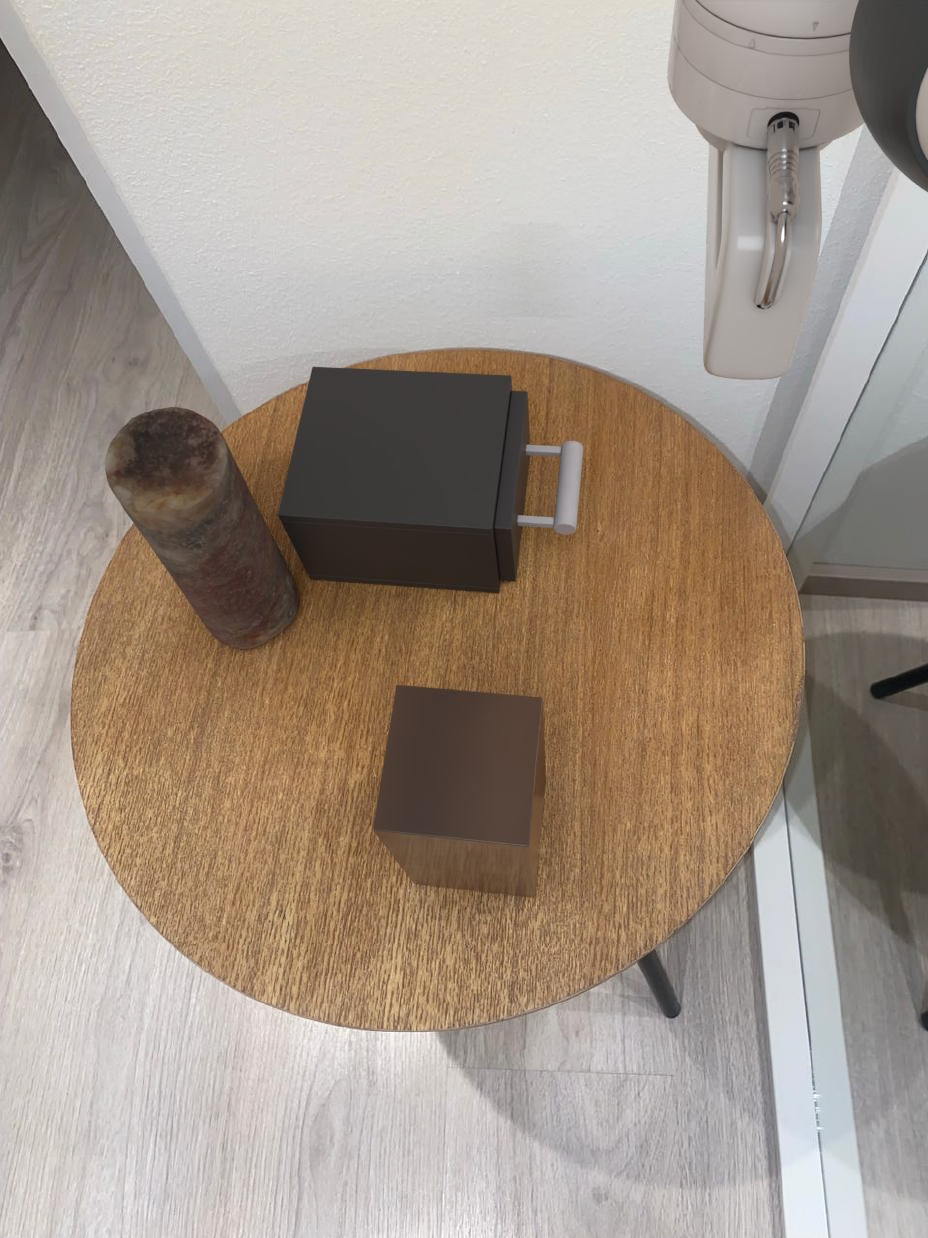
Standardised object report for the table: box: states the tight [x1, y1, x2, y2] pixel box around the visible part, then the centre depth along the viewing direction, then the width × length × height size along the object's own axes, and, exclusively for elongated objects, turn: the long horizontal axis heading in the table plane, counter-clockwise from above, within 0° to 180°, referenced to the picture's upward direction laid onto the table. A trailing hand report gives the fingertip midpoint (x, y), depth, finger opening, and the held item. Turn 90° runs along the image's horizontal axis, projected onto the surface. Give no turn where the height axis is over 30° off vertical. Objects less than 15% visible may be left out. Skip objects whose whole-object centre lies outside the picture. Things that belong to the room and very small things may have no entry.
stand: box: [372, 684, 547, 899], centre depth 58 cm, size 8×8×16 cm
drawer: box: [494, 390, 584, 583], centre depth 71 cm, size 18×11×8 cm, turn 83°
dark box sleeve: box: [277, 366, 513, 594], centre depth 72 cm, size 15×13×10 cm
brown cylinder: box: [104, 406, 299, 650], centre depth 65 cm, size 8×7×20 cm
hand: (728, 291), depth 51 cm, fingers closed
